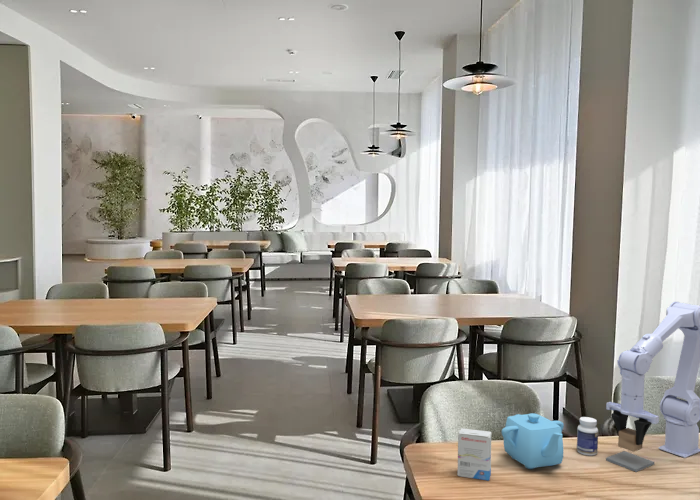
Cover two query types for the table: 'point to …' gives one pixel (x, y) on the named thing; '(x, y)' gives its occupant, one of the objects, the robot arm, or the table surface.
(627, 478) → the table surface
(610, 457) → the slate coaster
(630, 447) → the walnut cube
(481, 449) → the ink box
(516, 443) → the teapot
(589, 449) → the pill bottle
